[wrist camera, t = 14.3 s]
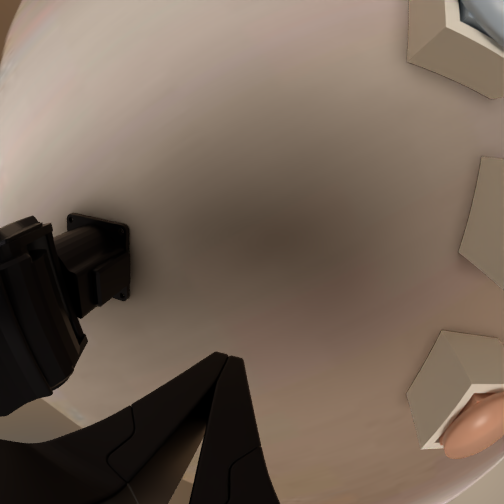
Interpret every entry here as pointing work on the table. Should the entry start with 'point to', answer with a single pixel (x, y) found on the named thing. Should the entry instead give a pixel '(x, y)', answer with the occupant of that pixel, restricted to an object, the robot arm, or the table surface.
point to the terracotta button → (475, 426)
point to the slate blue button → (484, 17)
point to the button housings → (478, 226)
